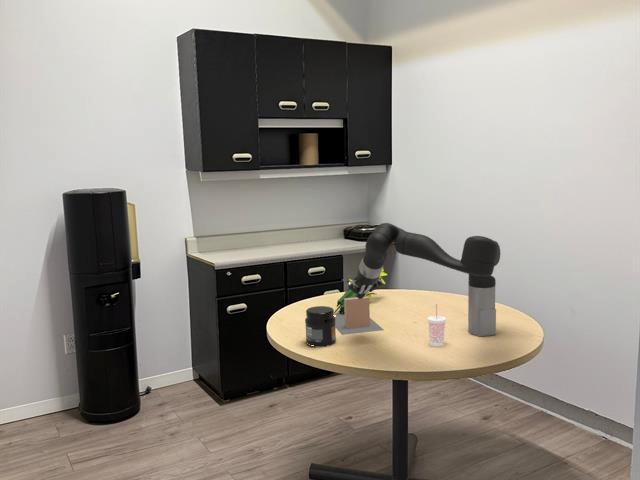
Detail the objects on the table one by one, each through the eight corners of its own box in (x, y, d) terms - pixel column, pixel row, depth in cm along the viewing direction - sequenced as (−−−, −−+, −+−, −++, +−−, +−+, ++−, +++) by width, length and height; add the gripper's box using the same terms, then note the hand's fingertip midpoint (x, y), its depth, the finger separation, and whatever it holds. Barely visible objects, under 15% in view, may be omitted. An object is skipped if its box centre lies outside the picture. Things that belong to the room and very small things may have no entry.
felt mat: (384, 331, 216) (384, 330, 216) (342, 335, 212) (342, 334, 212) (362, 312, 241) (362, 311, 241) (324, 316, 237) (324, 315, 237)
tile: (369, 326, 221) (369, 297, 219) (346, 328, 219) (345, 300, 217) (367, 324, 223) (367, 296, 222) (344, 326, 221) (344, 298, 220)
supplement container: (339, 339, 209) (338, 306, 207) (331, 349, 199) (330, 314, 197) (310, 337, 212) (309, 305, 210) (302, 347, 202) (300, 313, 200)
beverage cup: (424, 342, 202) (423, 302, 200) (439, 339, 204) (439, 300, 202) (433, 348, 197) (433, 307, 194) (449, 345, 199) (449, 304, 196)
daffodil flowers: (318, 313, 244) (356, 275, 271) (348, 333, 240) (383, 293, 267) (331, 284, 234) (369, 248, 261) (362, 304, 230) (397, 265, 257)
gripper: (354, 279, 193) (344, 307, 206) (392, 276, 196) (380, 303, 210) (348, 261, 197) (339, 289, 211) (386, 258, 200) (374, 286, 214)
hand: (359, 296), depth 210 cm, fingers closed
